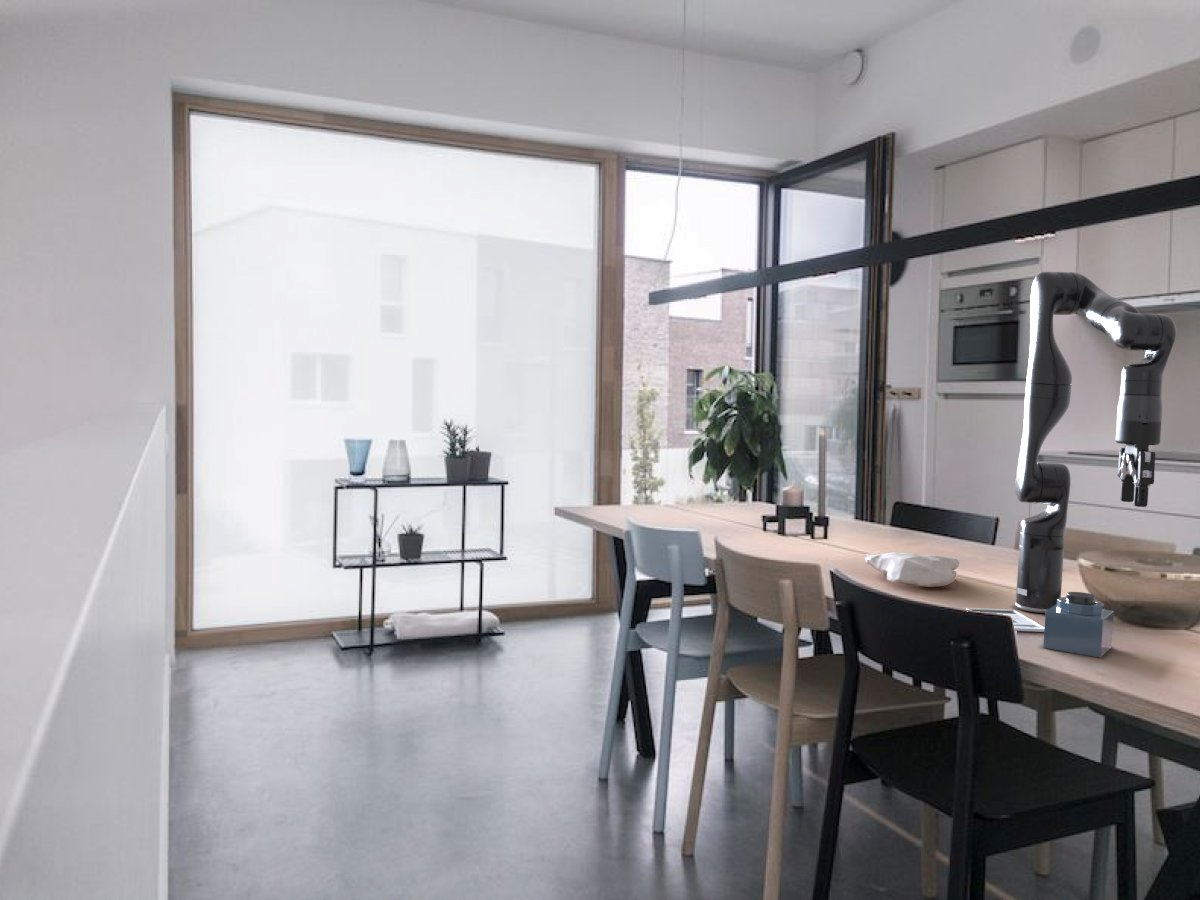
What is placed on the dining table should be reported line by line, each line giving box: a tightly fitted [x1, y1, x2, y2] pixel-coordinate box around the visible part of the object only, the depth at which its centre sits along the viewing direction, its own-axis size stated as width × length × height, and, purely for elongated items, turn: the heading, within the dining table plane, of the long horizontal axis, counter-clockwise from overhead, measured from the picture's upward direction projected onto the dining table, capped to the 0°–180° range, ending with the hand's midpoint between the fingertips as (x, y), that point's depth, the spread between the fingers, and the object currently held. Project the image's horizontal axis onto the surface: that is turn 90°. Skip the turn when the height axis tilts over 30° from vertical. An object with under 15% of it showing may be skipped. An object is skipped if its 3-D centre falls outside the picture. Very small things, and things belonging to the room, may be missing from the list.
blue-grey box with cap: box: [1042, 596, 1115, 658], centre depth 191 cm, size 10×10×9 cm
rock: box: [864, 551, 960, 588], centre depth 257 cm, size 8×23×30 cm
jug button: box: [1065, 591, 1096, 605], centre depth 190 cm, size 5×5×2 cm
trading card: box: [965, 607, 1045, 633], centre depth 211 cm, size 11×1×18 cm
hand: (1133, 504), depth 189 cm, fingers open, 8 cm apart
